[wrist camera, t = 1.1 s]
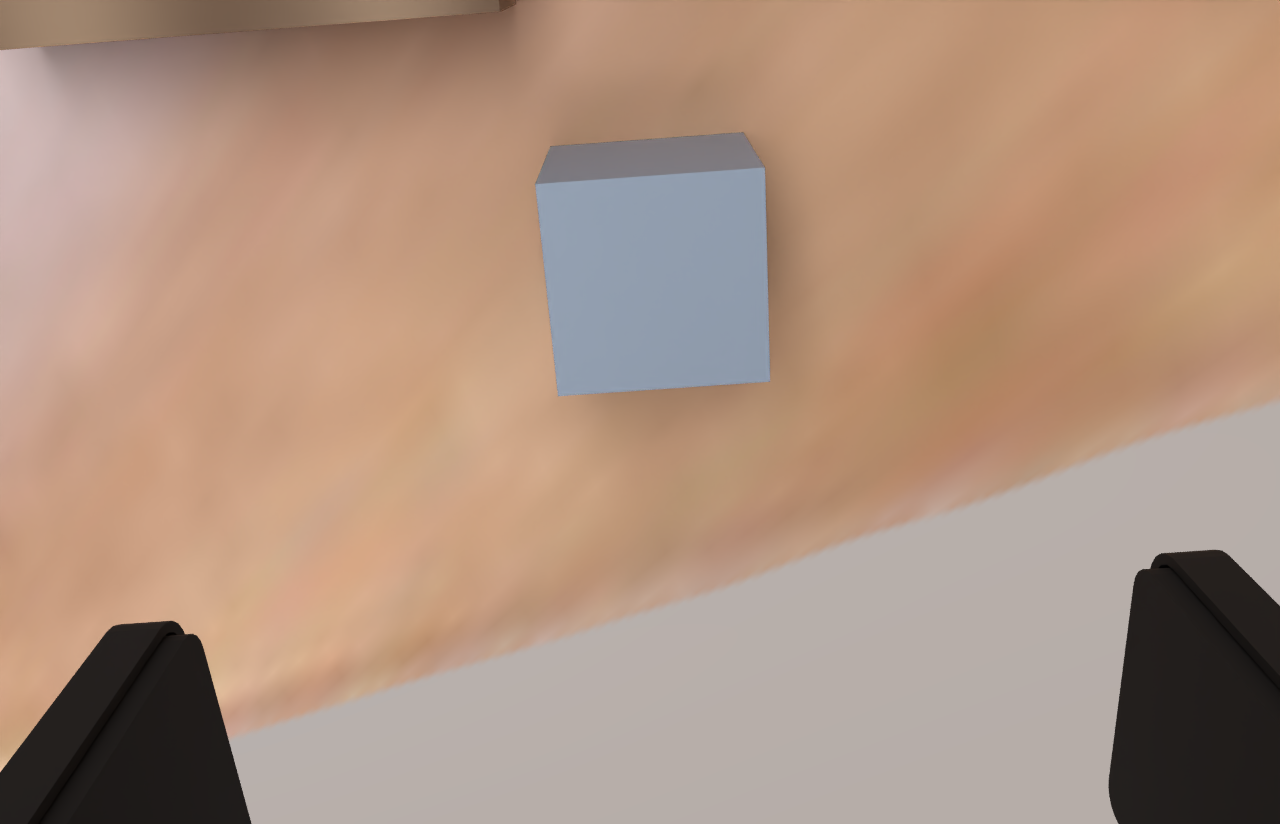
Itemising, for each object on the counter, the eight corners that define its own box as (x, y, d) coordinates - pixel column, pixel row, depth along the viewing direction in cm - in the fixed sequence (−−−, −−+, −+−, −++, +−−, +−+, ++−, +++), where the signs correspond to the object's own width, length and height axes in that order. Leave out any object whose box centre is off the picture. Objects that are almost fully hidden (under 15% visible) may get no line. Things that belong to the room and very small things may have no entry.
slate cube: (742, 132, 28) (765, 167, 23) (748, 315, 30) (770, 381, 25) (550, 146, 28) (535, 184, 24) (568, 327, 30) (558, 395, 26)
